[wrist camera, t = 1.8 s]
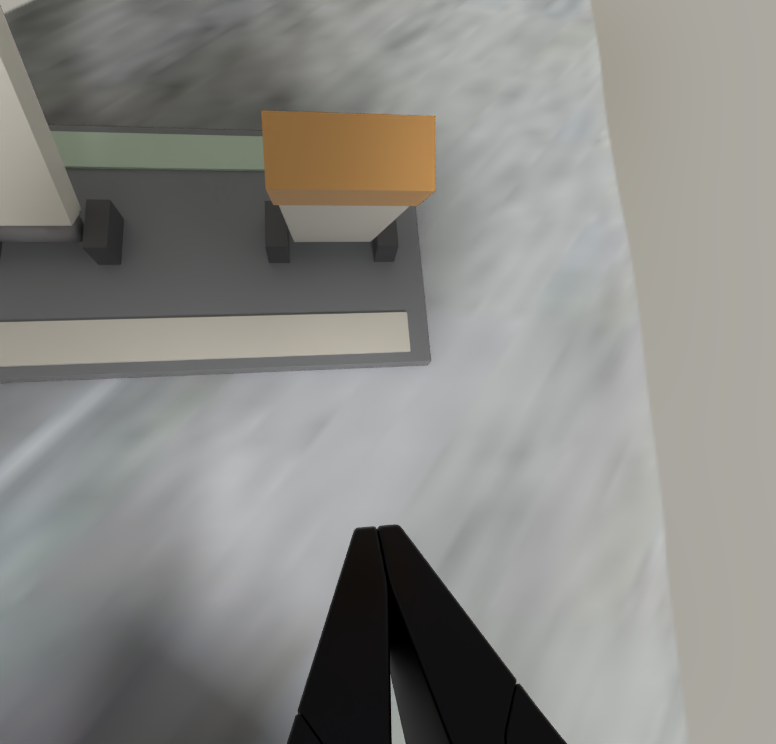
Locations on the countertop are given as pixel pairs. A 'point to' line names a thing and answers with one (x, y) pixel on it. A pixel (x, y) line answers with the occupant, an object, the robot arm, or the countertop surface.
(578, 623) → the countertop surface
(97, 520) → the countertop surface
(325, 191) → the lever
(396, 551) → the robot arm
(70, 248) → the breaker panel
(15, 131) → the on lever
